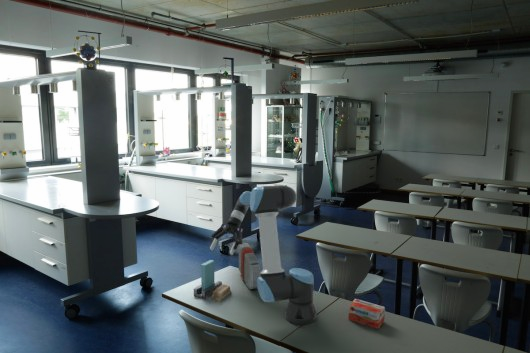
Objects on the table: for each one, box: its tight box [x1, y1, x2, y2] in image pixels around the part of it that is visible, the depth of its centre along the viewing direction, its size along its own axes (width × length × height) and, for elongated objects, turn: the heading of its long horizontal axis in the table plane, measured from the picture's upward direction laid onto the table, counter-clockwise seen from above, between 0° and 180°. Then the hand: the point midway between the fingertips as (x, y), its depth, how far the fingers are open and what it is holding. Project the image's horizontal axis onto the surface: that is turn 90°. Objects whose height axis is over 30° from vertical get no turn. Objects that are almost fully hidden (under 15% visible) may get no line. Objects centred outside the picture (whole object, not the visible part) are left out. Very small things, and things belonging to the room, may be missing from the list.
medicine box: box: [348, 298, 386, 330], centre depth 191 cm, size 15×8×8 cm, turn 57°
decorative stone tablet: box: [238, 242, 262, 290], centre depth 230 cm, size 19×6×30 cm
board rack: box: [193, 280, 223, 300], centre depth 219 cm, size 8×15×4 cm, turn 149°
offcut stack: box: [211, 283, 232, 302], centre depth 215 cm, size 6×11×4 cm, turn 151°
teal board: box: [200, 259, 216, 291], centre depth 218 cm, size 2×8×17 cm, turn 149°
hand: (220, 251), depth 226 cm, fingers open, 13 cm apart
